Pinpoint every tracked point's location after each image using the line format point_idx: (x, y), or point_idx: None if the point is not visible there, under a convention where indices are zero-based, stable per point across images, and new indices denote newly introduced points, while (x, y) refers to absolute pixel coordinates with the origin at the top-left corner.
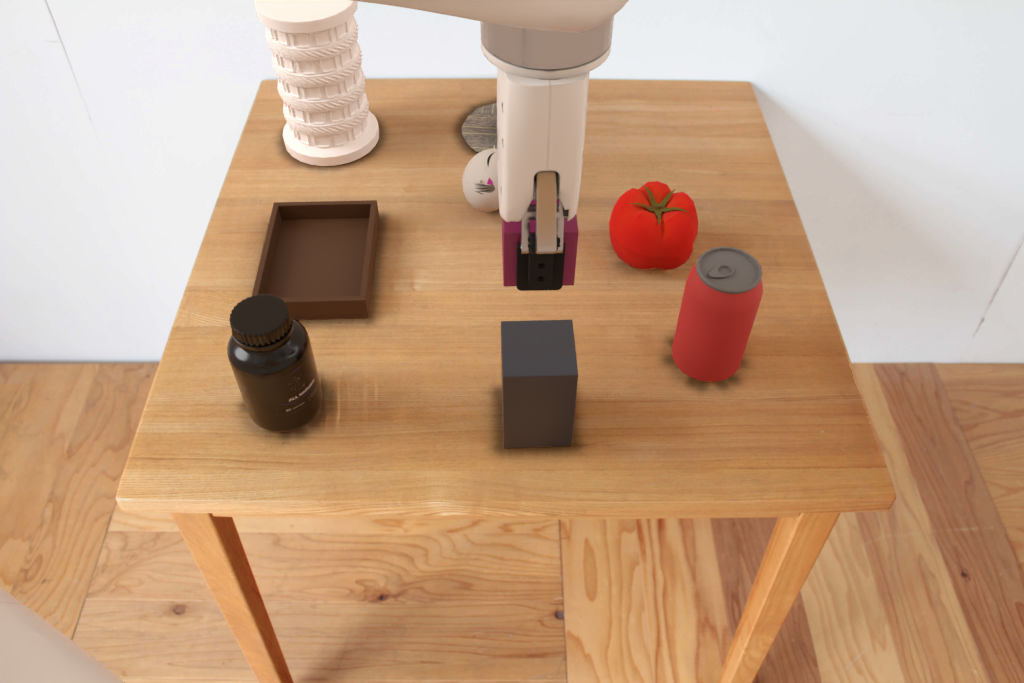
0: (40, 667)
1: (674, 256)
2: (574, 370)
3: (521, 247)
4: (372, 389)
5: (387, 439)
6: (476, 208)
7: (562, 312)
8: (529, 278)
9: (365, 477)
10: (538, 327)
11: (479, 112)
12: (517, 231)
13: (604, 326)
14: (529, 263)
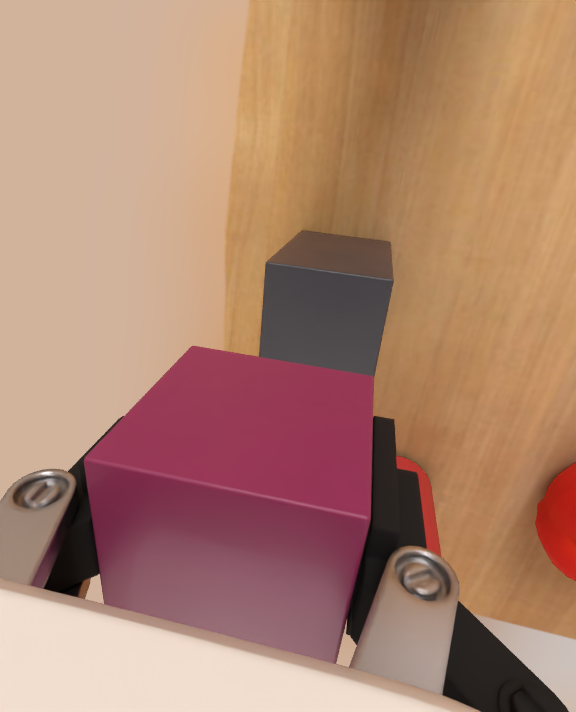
0: None
1: (540, 528)
2: None
3: (67, 478)
4: (452, 18)
5: (342, 50)
6: None
7: (522, 353)
8: (110, 430)
9: (279, 11)
10: (363, 339)
11: None
12: (93, 499)
13: (475, 398)
14: (77, 463)
